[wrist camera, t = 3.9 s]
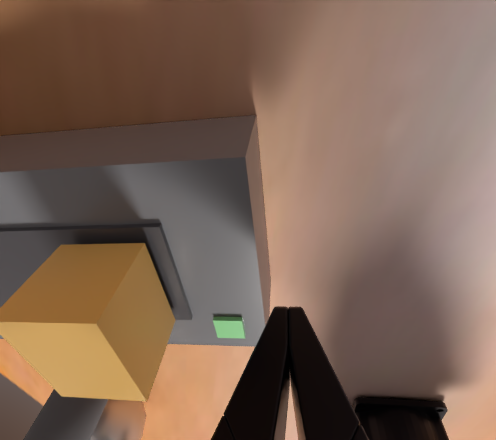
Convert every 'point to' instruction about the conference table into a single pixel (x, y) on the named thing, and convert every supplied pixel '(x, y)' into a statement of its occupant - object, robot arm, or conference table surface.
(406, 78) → the conference table surface
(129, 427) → the plastic bottle
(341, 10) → the conference table surface
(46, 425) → the cylinder
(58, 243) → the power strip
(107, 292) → the toggle amber
